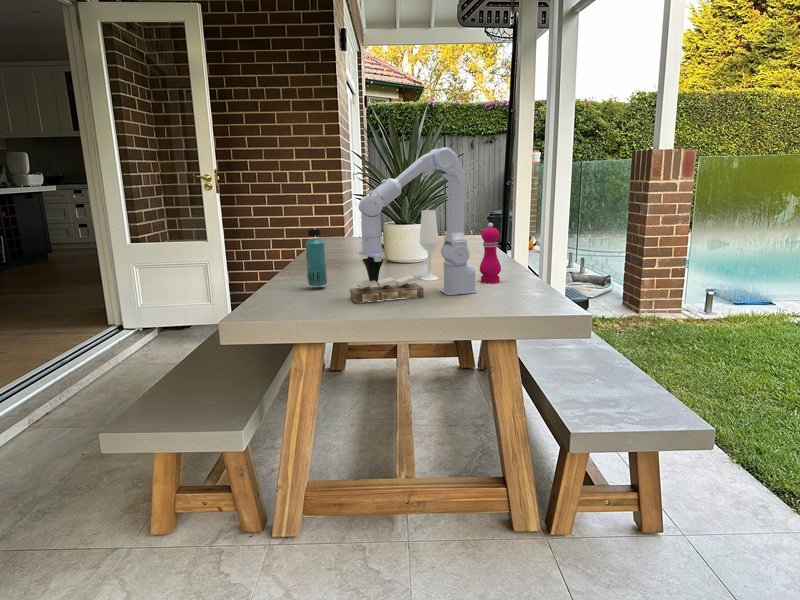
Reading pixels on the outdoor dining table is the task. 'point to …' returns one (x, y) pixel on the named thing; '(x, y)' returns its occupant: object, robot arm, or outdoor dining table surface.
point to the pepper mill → (490, 256)
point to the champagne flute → (428, 237)
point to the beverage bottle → (315, 260)
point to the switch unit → (386, 292)
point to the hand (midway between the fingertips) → (373, 282)
